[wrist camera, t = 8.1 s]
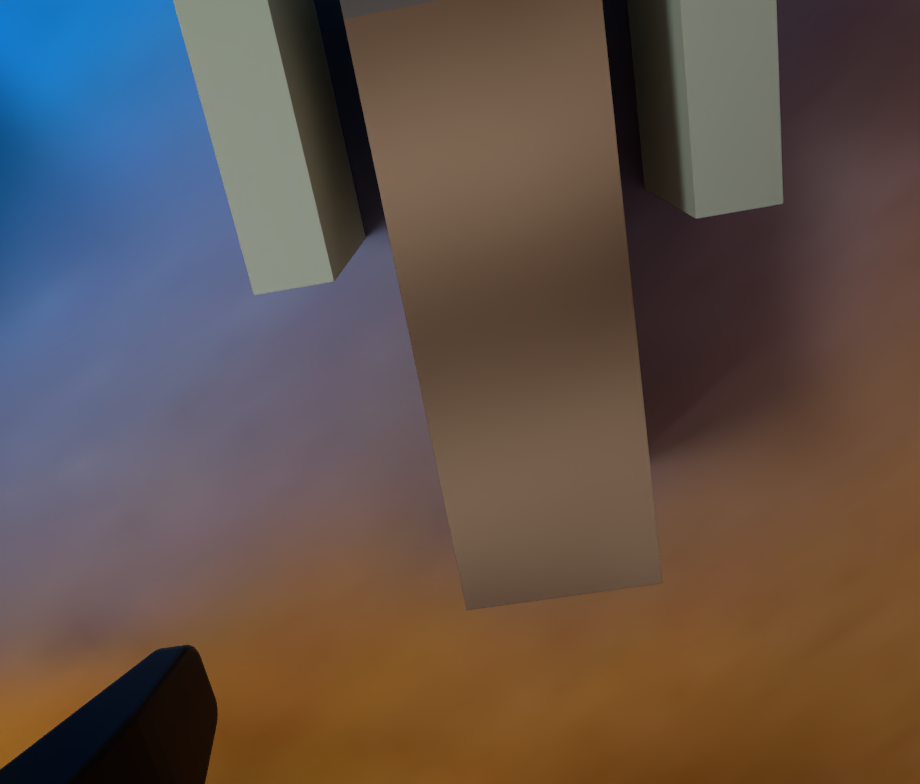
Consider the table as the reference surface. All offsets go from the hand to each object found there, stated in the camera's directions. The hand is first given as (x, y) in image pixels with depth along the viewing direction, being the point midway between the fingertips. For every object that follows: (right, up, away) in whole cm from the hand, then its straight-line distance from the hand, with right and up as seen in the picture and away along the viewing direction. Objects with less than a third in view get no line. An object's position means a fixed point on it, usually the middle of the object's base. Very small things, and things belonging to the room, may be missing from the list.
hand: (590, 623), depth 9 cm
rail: (0, +6, +10) cm, 11 cm away
